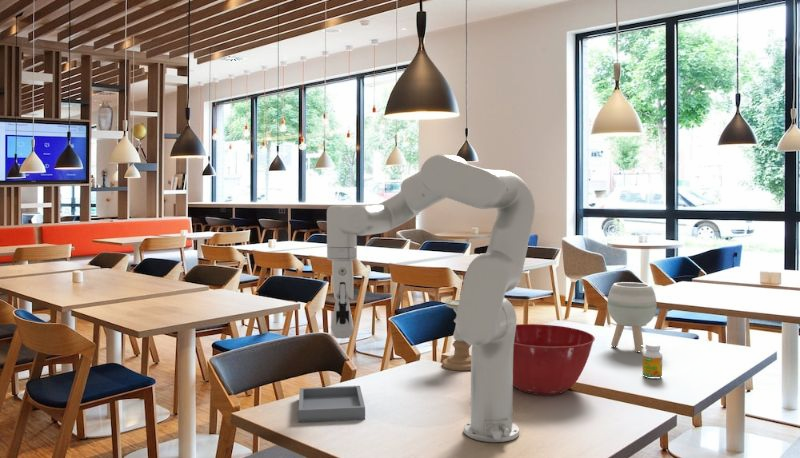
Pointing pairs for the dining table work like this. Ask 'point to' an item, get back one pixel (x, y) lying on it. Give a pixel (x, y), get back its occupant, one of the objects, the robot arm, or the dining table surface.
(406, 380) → the dining table surface
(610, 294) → the planter
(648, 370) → the supplement bottle
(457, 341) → the candle holder
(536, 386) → the mixing bowl
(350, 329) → the salt shaker
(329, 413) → the tray
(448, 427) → the dining table surface
